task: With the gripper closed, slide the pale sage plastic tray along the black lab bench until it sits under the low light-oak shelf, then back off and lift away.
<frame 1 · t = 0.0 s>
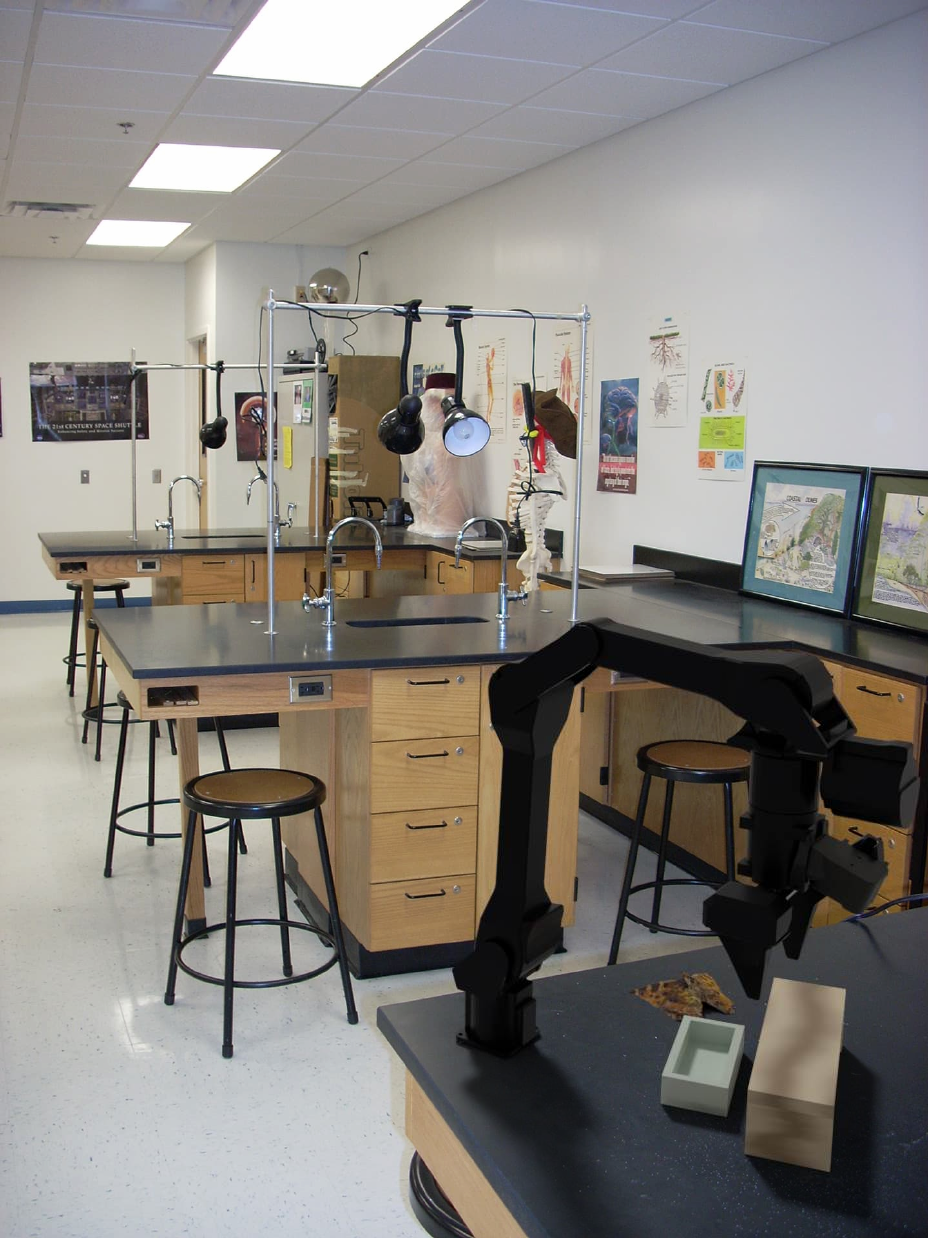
hand: (774, 978, 102), 15 cm above the lab bench, fingers open, 9 cm apart
butterfly model: (689, 1007, 129), on the lab bench
tray: (703, 1076, 113), on the lab bench
shelf: (797, 1095, 110), on the lab bench
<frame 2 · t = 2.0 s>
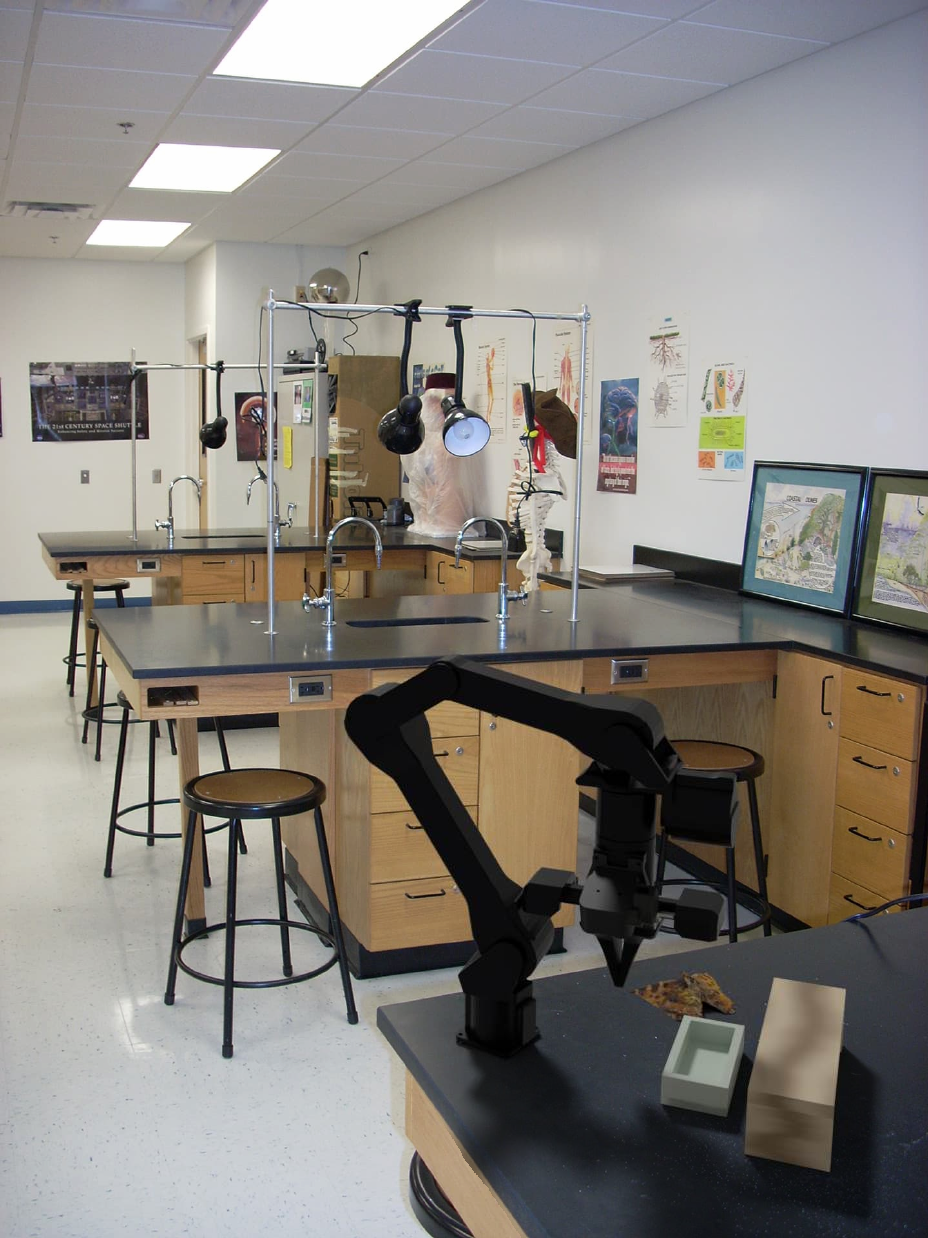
hand: (619, 986, 115), 8 cm above the lab bench, fingers closed
nothing on the lab bench moved.
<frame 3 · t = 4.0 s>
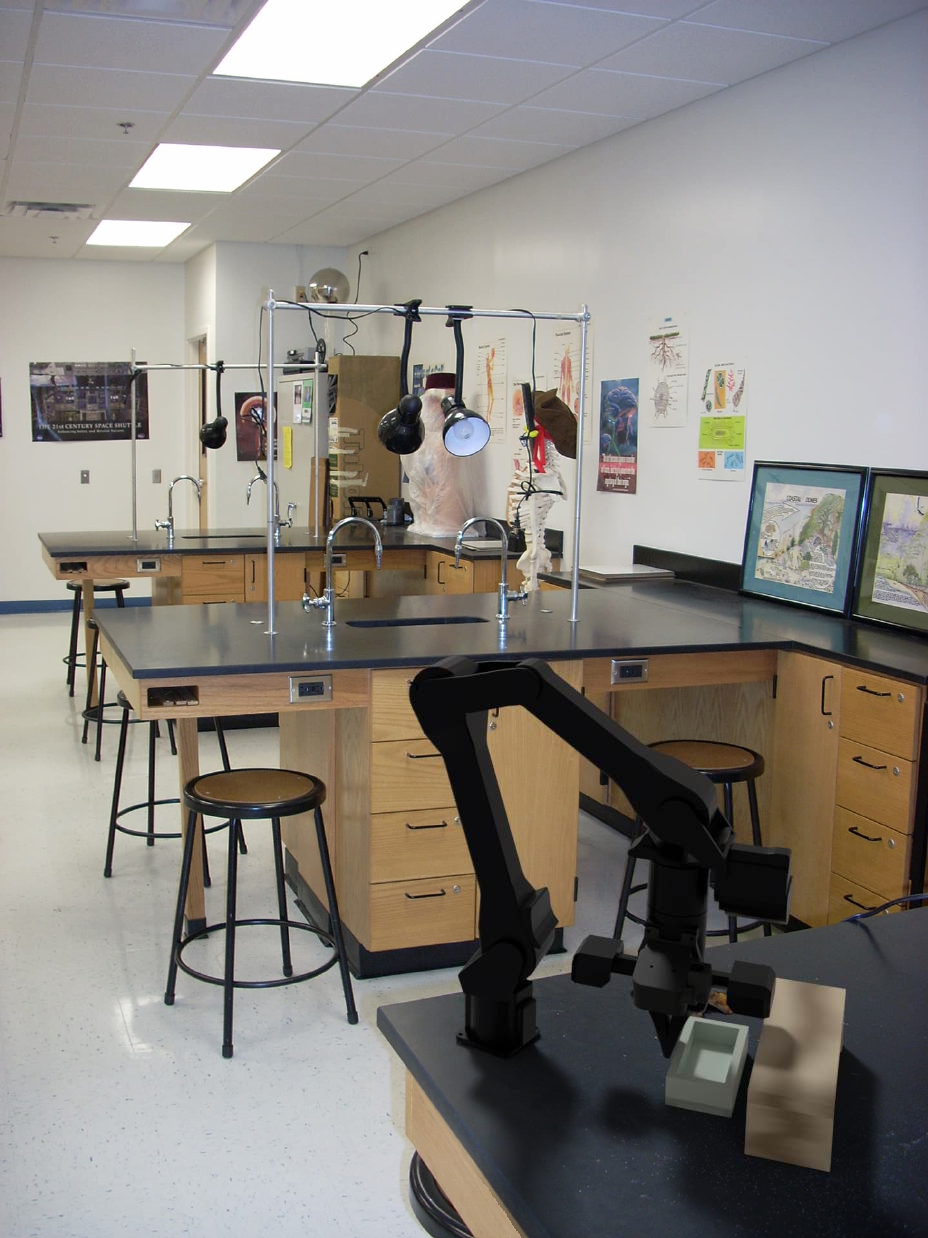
hand: (668, 1057, 114), 1 cm above the lab bench, fingers closed
tray: (707, 1077, 113), on the lab bench, touching gripper
everything else where it was.
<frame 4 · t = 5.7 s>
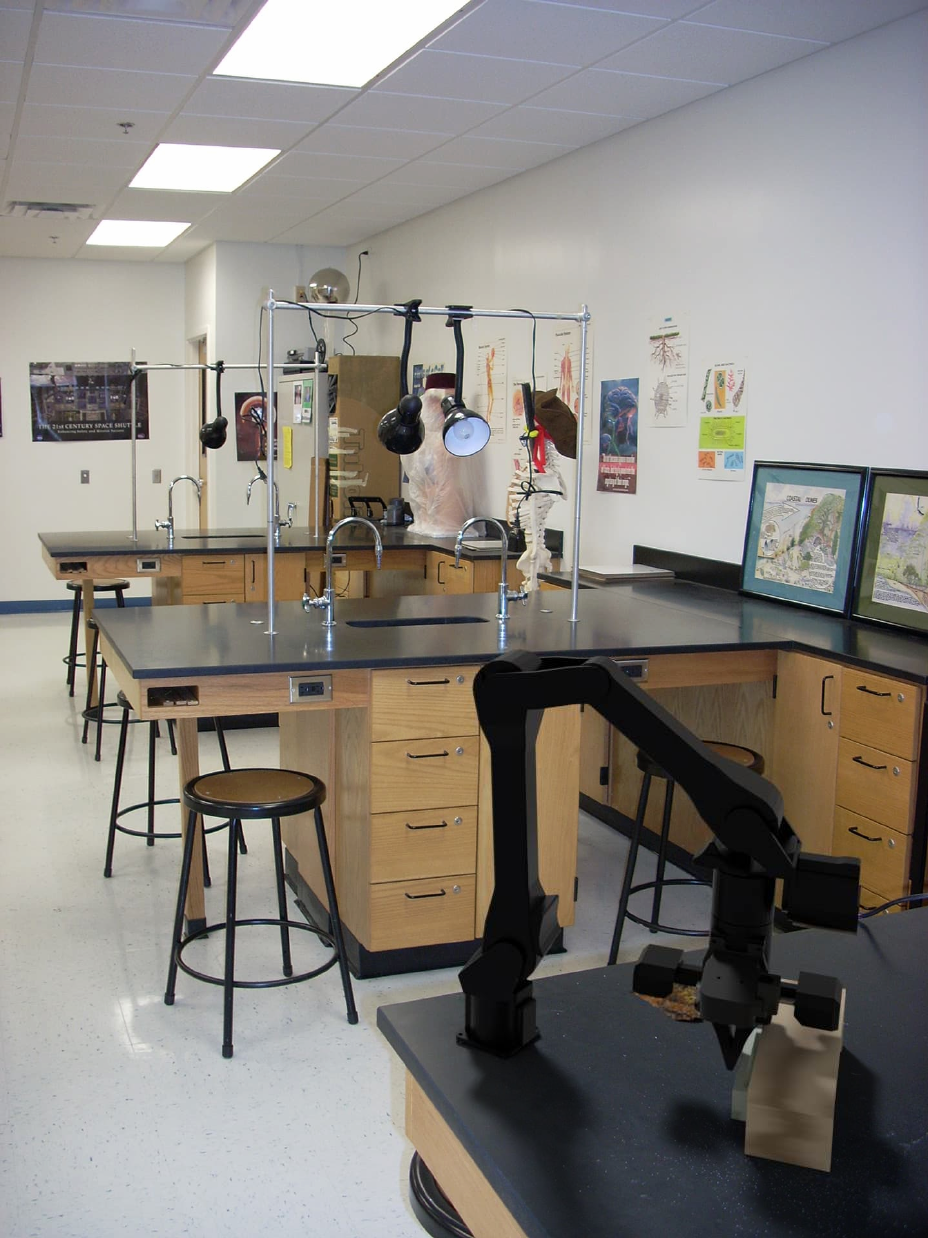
hand: (730, 1069, 112), 1 cm above the lab bench, fingers closed
tray: (772, 1090, 111), on the lab bench, touching gripper
everything else where it was.
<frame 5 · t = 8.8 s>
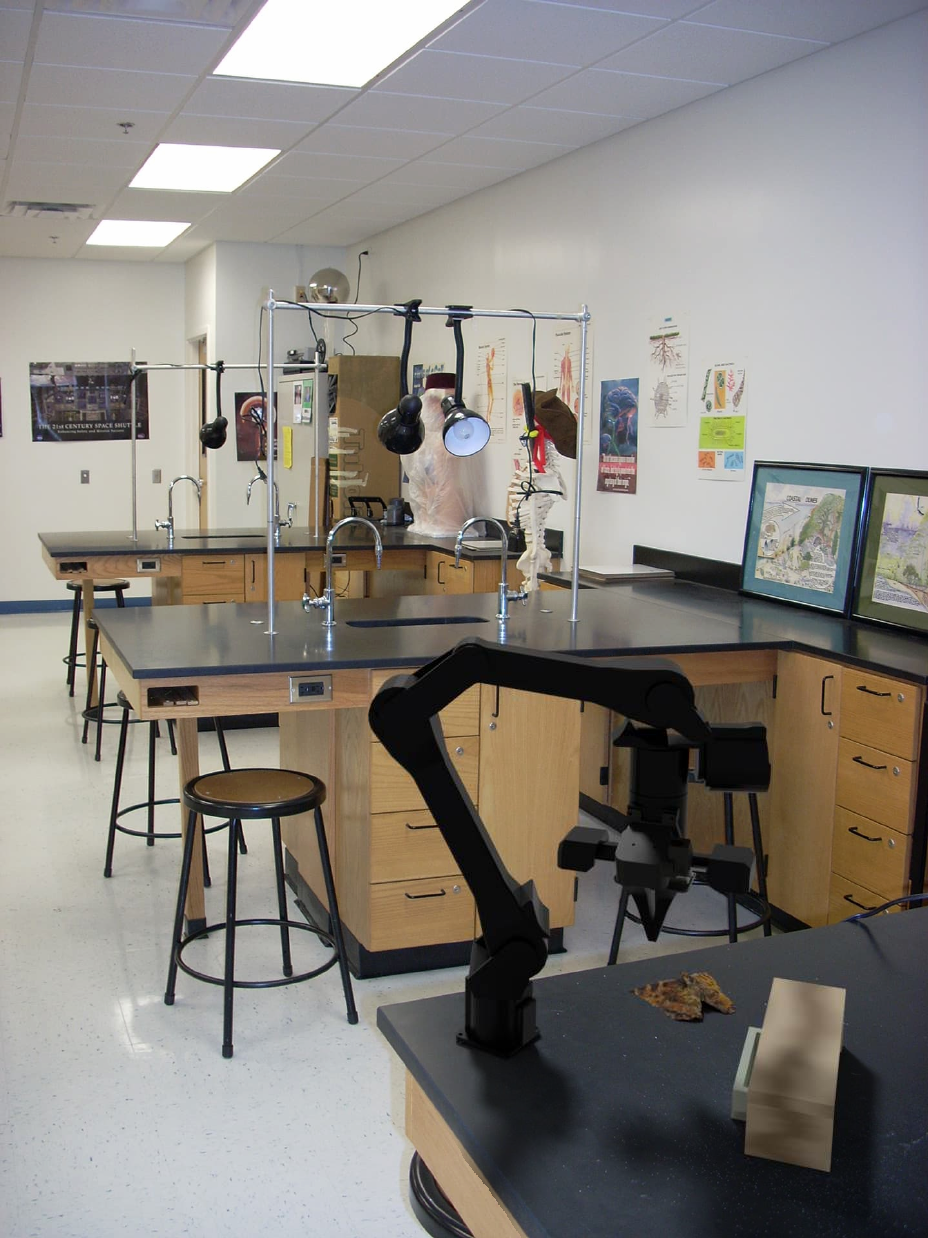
hand: (653, 940, 118), 11 cm above the lab bench, fingers closed
tray: (772, 1090, 111), on the lab bench
everything else where it was.
at the end: tray 2.3 cm from the shelf (horizontally); tray tilted 0°; tray moved 6.4 cm from its start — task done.
